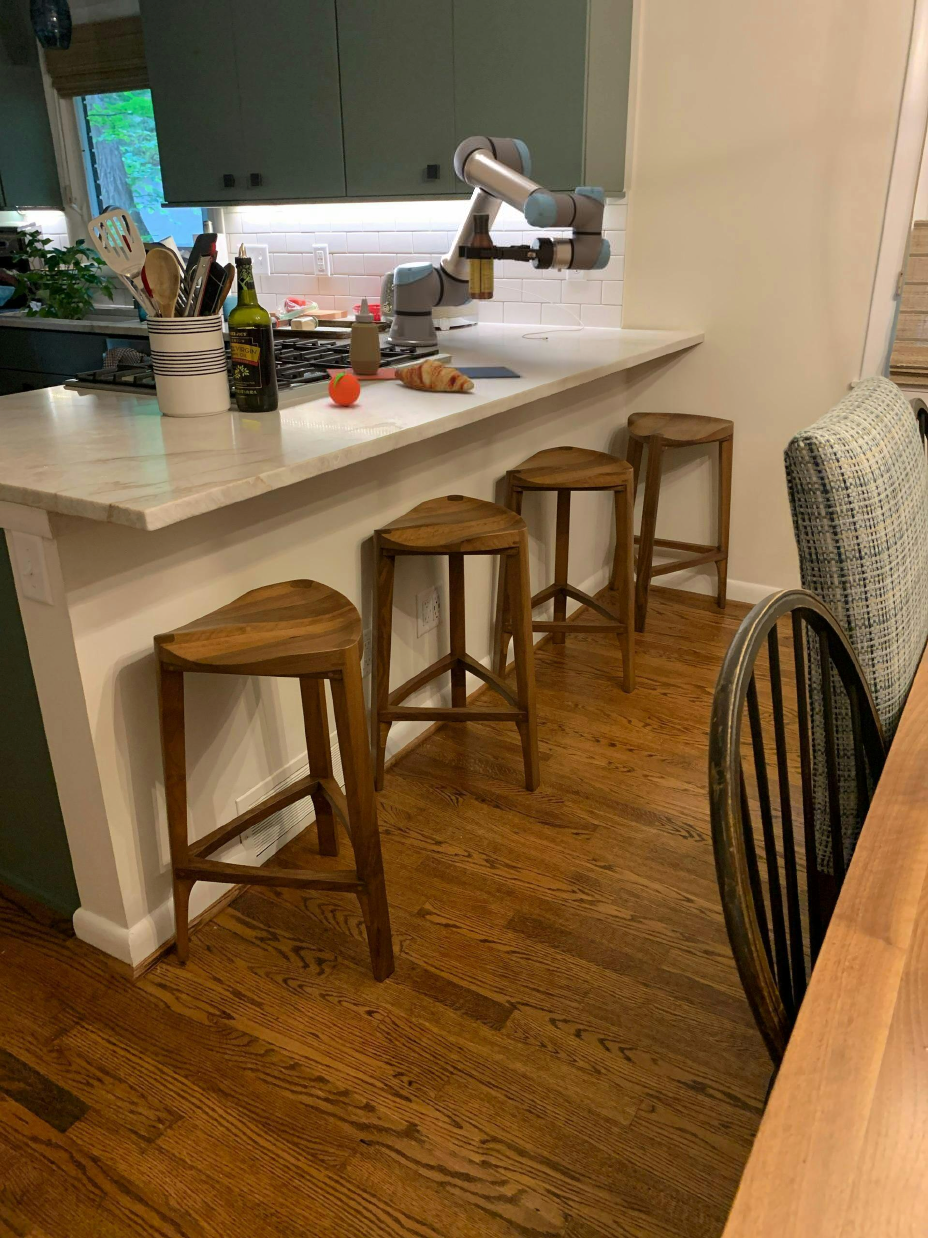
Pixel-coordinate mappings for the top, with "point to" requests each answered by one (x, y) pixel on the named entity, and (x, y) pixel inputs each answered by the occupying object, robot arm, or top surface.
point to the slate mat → (487, 372)
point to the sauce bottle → (481, 261)
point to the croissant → (434, 377)
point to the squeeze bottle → (364, 343)
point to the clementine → (344, 389)
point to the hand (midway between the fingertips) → (462, 252)
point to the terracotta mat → (380, 375)
